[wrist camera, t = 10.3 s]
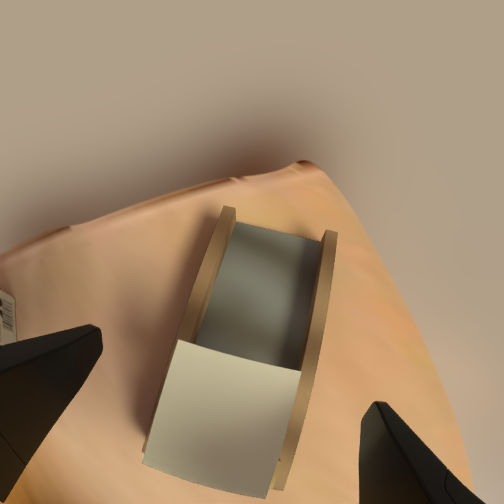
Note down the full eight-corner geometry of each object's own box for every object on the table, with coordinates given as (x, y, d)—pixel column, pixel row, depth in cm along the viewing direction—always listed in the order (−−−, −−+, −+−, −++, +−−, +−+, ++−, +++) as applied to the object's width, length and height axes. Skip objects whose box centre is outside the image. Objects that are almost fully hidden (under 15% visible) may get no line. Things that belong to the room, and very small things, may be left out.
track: (280, 478, 16) (290, 501, 11) (152, 444, 16) (128, 456, 12) (330, 250, 25) (347, 219, 20) (223, 224, 26) (220, 189, 21)
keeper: (253, 445, 16) (265, 499, 7) (192, 428, 16) (141, 463, 7) (271, 381, 18) (301, 371, 9) (210, 365, 19) (178, 339, 9)
